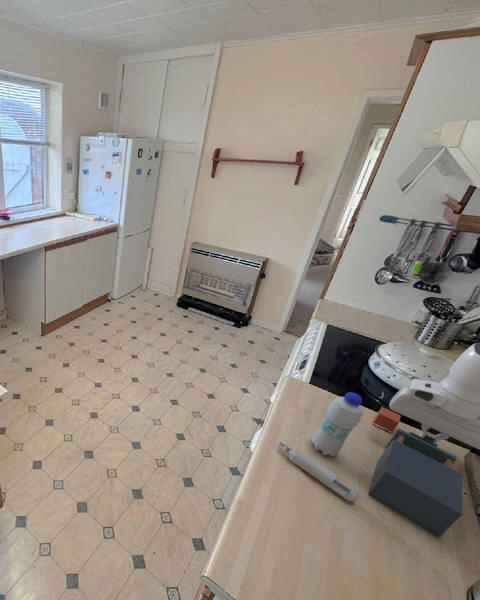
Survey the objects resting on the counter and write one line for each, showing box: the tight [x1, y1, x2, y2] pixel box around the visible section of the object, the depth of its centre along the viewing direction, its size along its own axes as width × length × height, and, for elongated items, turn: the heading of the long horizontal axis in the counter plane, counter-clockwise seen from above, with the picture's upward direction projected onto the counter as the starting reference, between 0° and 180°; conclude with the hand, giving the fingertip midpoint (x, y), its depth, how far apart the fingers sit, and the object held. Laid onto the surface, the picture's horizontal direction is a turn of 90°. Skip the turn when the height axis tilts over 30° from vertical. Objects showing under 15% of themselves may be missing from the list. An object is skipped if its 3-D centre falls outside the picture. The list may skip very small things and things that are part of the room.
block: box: [373, 406, 402, 433], centre depth 99 cm, size 5×5×5 cm
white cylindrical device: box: [277, 441, 360, 502], centre depth 81 cm, size 18×5×7 cm, turn 38°
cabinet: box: [367, 439, 463, 538], centre depth 77 cm, size 15×13×9 cm
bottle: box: [311, 391, 364, 457], centre depth 86 cm, size 7×7×20 cm
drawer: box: [385, 428, 458, 469], centre depth 84 cm, size 18×11×7 cm, turn 132°
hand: (427, 439), depth 87 cm, fingers closed
